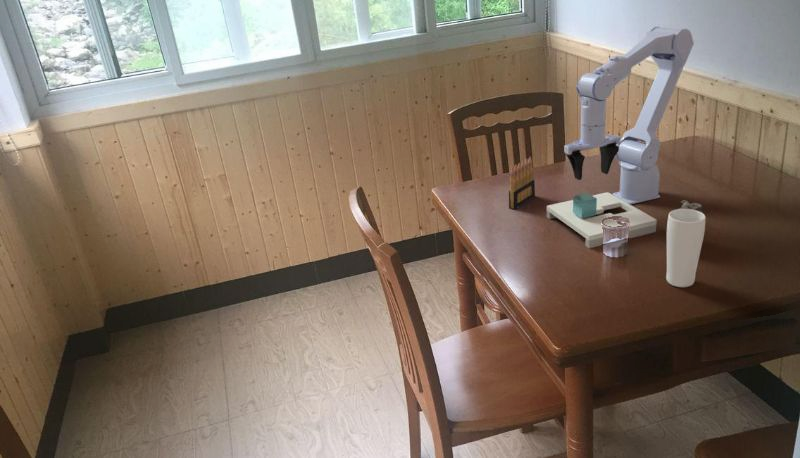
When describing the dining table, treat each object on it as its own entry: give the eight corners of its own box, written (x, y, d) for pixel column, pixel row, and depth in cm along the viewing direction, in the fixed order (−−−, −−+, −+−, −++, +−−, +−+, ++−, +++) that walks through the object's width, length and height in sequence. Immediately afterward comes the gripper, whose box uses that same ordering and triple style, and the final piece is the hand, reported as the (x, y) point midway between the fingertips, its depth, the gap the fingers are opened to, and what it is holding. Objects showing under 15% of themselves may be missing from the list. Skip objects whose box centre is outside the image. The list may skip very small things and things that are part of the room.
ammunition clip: (514, 209, 167) (513, 168, 162) (508, 208, 168) (507, 167, 163) (535, 196, 174) (534, 155, 169) (529, 195, 175) (528, 154, 170)
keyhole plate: (607, 203, 164) (607, 192, 163) (655, 232, 147) (656, 219, 145) (546, 217, 161) (546, 205, 159) (588, 248, 143) (589, 236, 142)
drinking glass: (656, 276, 129) (661, 210, 123) (687, 271, 129) (694, 206, 123) (672, 292, 123) (678, 224, 117) (704, 287, 123) (713, 220, 117)
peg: (587, 221, 156) (587, 192, 152) (596, 228, 152) (597, 198, 148) (571, 225, 155) (572, 196, 151) (581, 232, 151) (581, 202, 147)
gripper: (609, 114, 155) (607, 165, 161) (557, 125, 152) (557, 176, 158) (626, 121, 149) (623, 173, 155) (573, 131, 146) (572, 185, 151)
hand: (591, 175), depth 156 cm, fingers open, 7 cm apart
